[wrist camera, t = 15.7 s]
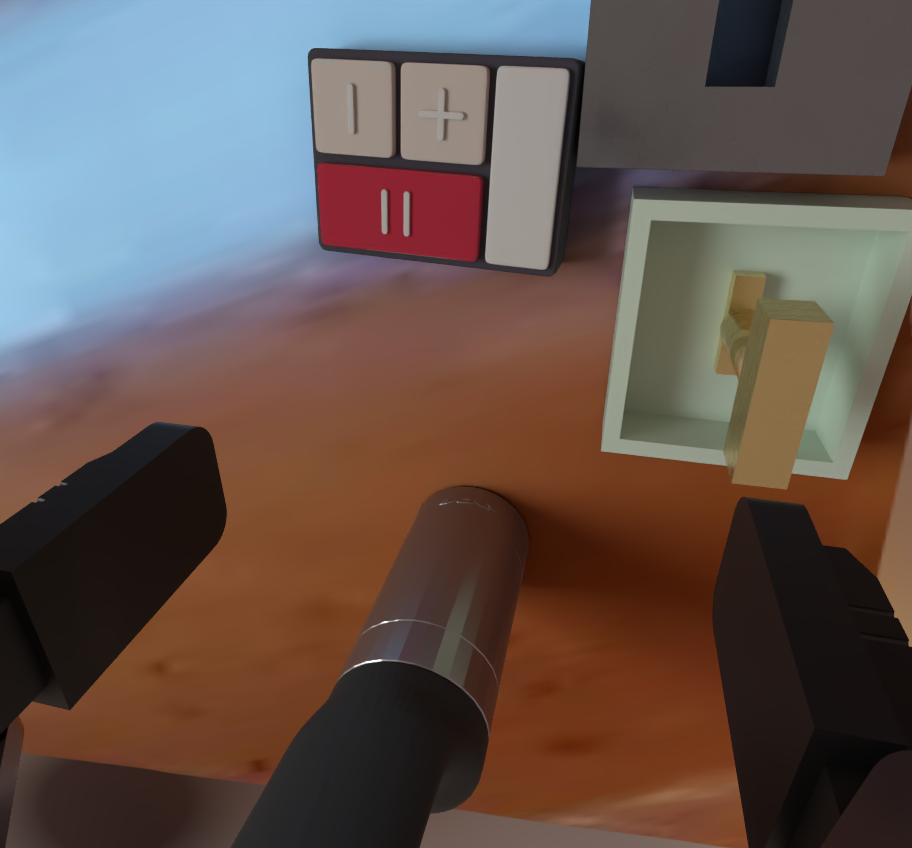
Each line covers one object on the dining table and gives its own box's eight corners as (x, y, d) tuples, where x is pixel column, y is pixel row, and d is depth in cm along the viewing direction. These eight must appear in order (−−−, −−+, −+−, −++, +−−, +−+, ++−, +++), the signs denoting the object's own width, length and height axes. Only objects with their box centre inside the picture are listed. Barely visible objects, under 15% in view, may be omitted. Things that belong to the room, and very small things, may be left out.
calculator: (299, 46, 34) (580, 57, 31) (334, 50, 38) (589, 60, 34) (312, 253, 39) (553, 281, 36) (342, 238, 43) (563, 263, 40)
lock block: (851, 164, 33) (884, 175, 29) (582, 157, 36) (576, 167, 32) (949, -192, 27) (1011, -244, 23) (611, -167, 30) (609, -209, 25)
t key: (728, 252, 36) (770, 319, 26) (774, 254, 36) (834, 323, 25) (703, 380, 40) (731, 483, 30) (744, 383, 40) (786, 489, 29)
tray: (825, 442, 41) (847, 479, 37) (603, 418, 43) (601, 451, 40) (905, 196, 34) (941, 210, 30) (632, 187, 36) (633, 199, 32)
